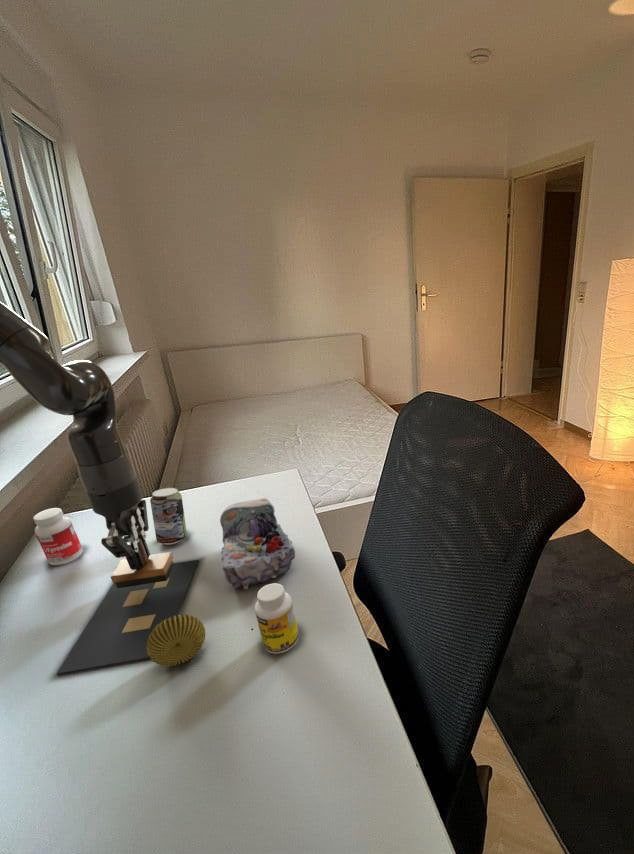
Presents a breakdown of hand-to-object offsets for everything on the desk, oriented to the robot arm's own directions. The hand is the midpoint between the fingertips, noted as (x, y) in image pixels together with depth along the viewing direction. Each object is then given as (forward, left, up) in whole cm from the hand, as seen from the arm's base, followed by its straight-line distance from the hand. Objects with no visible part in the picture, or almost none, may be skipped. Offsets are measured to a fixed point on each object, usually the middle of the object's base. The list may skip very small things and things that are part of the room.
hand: (140, 562), depth 82 cm
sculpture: (+11, -19, -6) cm, 23 cm away
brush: (0, 0, -3) cm, 3 cm away
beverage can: (0, +16, -6) cm, 18 cm away
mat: (0, -6, -6) cm, 8 cm away
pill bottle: (-22, +15, -6) cm, 28 cm away
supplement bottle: (+26, -19, -6) cm, 33 cm away
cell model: (+19, +3, -6) cm, 21 cm away
